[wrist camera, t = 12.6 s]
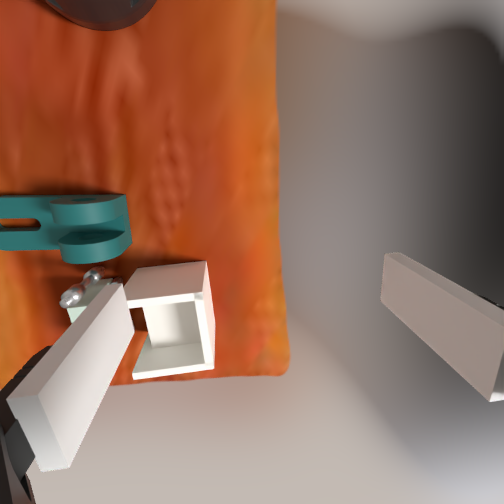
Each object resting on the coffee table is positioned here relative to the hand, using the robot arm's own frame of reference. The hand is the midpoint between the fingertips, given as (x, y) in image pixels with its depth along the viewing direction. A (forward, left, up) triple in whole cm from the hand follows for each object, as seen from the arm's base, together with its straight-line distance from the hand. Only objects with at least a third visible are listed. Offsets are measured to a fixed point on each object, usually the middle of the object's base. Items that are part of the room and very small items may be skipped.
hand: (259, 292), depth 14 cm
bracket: (0, -24, -27) cm, 36 cm away
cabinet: (+14, -10, -27) cm, 32 cm away
